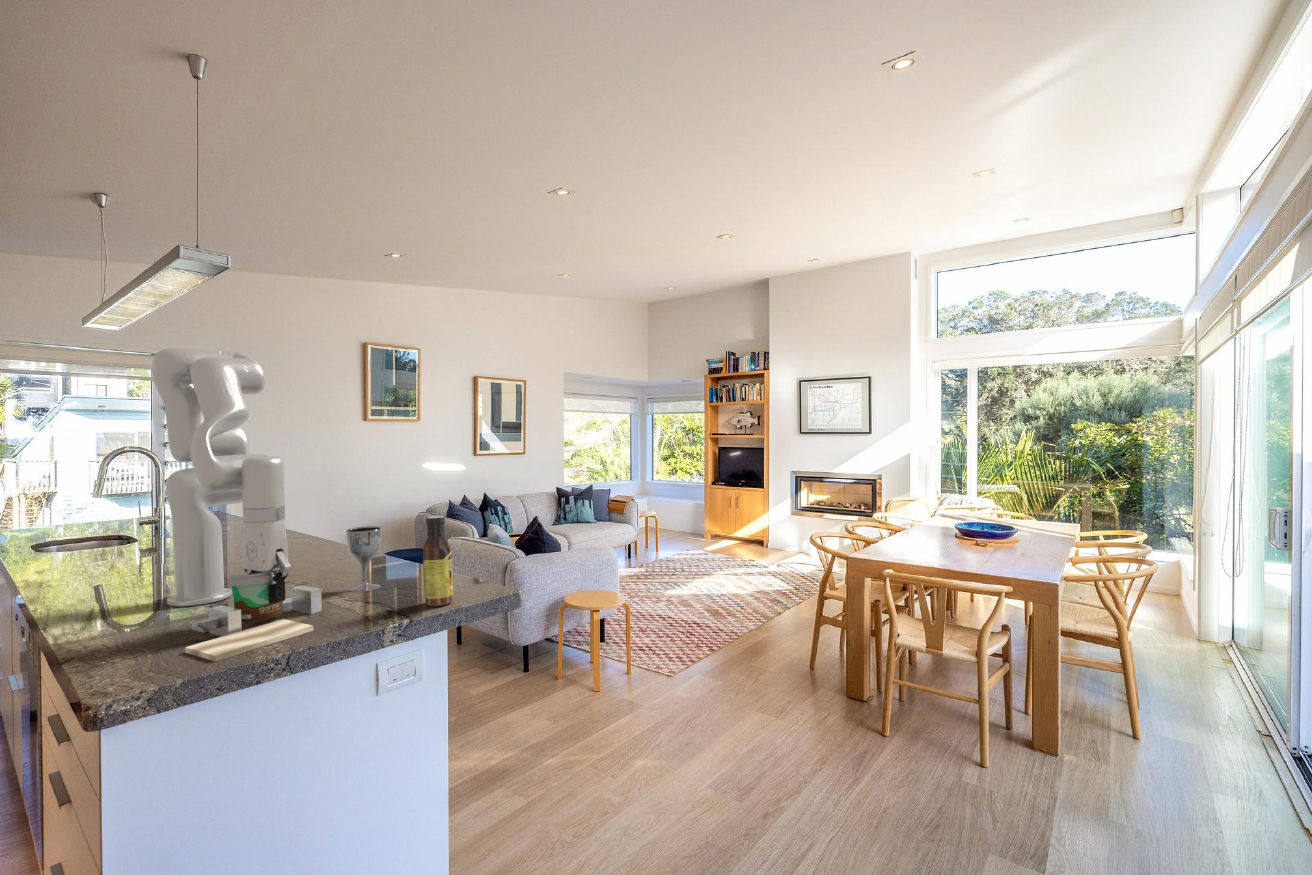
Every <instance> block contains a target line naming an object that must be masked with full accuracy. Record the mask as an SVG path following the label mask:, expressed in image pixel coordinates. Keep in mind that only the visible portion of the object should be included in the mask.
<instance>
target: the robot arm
mask: <svg viewBox="0 0 1312 875" xmlns="http://www.w3.org/2000/svg"><path fill="white" fill-rule="evenodd" d="M151 366H152V367H151V373H152V379H153V382H154V386H155V388H156V390H157V392H158V394H159V396H160V398H161V400H162V403H163V406H164V412H165V421H166V422H165V423H166V429H167V439H168V445H169V451H170V455H171V457H172V458H173V459H174V460H175V461H177V462H180V463H188V464H189V463H192V466H193V467H189V468H183V469H179V470H176V471H174V472H172V473H171V474H170V475H169V476H167V479H166V481H165V492H166V497H167V500H168V505H169V509H170V515H171V525H172V546H173V569H174V570H173V571H174V572H173V574H174V577H173V578H174V584H173V588H174V595H172V596H171V595H170V597H168V598H167V600H166V603H167V604H166V605H168V606H170V607H191V606H200V605H207V604H212V603H215V602H219V601H223V600H225V599H227V598H230V597H231V596H233V591H232V588H231V589H230V588H227V587H225V578H224V575H225V573H224V571H225V570H224V550H223V546H224V545H223V526H222V523H221V521H220V519H219V518H218V516H216V515H215V514H214V513H213V512H212V511H211V509H210V507H211V508H212V507H217V506H226V505H234V504H235V505H236V504H241V503H242V526H241V532H240V544H239V565H240V567H241V568H242V569H243V570H244V572H245V575H247V574H249V573H251V572H254V571H257V572H263V573H264V572H267V573H268V577H269V580H270V583H271V584H269V585H268V598H269V603H270V604H273V603H277V602H280V601H284V600H285V598H286V582H287V580H288V578H287V577H288V576H289V572H291V571H290V570H291V569H292V565H291V563H290V562H289V549H288V548H289V547H288V537H287V531H286V526H285V521H286V507H285V502H286V500H285V499H286V498H285V494H286V493H285V469H284V468H285V466H284V464H285V463H284V461H283V459H282V458H281V457H278V456H271V455H270V456H268V455H266V454H263V453H262V454H261V453H257V454H251V448H250V441H249V438H248V437H249V436H248V434H247V431H246V430H245V429H244V428H243V427H242V425H243V424H244V423H246V422H247V421H248V419H249V417H250V411H249V407H248V405H247V402H246V398H245V396H244V395H258V394H260V393H261V392H263V390H264V388H265V386H266V380H267V379H266V373H265V371H264V369H263V367H262V364H260V363H259V362H258V361H257V360H256V359H253V358H251V357H249V356H246V355H244V354H242V353H240V352H235V351H229V350H216V349H204V348H193V347H168V348H164V349H161V350H159V351H158V352H156V353H155V354H154V356H153V359H152V364H151ZM191 385H192V386H191ZM273 567H276V568H273ZM272 568H273V569H272ZM273 572H278V573H277V574H276V576H274V573H273Z"/></svg>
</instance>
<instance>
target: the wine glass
mask: <svg viewBox="0 0 1312 875" xmlns="http://www.w3.org/2000/svg"><path fill="white" fill-rule="evenodd" d="M345 532H346V533H345V534H346V543H347V548H348V551H349V553H350V554H351V556H353V557H354V558H355V559H356V560H357V561H358V562H359V563H360V566H361V568H362V574H363V583H362V584H359V585H356V586H353V587H351V588H350V589H349V591H350V592H353V593H354V592H355V593H362V592H365V593H366V592H370V591H375V590H378V589H380V588H381V587H382V586H381V585H380V584H376V583H369V582H368V567H369V564H370V562H371V560H372V559H373V558H374V556H375V555H376V554H377V553H378V551H379V549H380V546H381V542H382V541H381V540H382V527H381V526H378V525H377V526H373V525H372V526H370V525H369V526H368V525H367V526H359V527H358V526H357V527H352V528H348V529H346V531H345Z"/></svg>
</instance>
